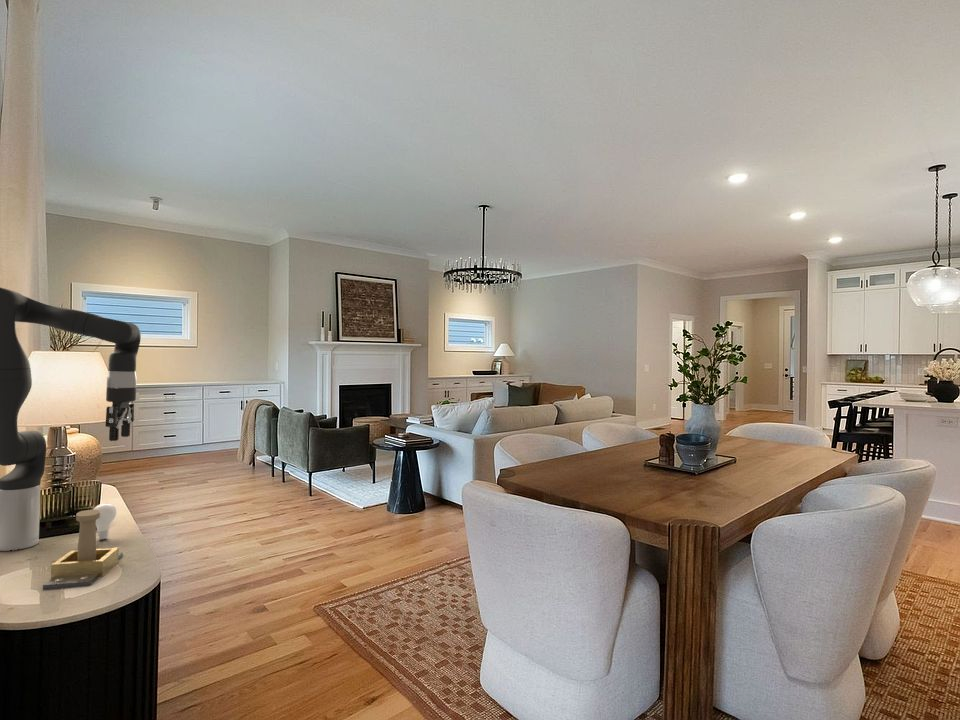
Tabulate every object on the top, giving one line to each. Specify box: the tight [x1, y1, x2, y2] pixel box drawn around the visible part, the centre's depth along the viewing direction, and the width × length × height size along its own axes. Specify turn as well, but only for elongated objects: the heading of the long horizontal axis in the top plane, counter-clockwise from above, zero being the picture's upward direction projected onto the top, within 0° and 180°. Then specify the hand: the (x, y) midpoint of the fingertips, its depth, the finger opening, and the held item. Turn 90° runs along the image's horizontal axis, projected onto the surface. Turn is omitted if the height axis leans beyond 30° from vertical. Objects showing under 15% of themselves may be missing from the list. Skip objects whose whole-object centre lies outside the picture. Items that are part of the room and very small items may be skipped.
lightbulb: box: [92, 502, 117, 541], centre depth 156 cm, size 6×6×11 cm
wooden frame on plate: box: [42, 547, 124, 590], centre depth 132 cm, size 11×20×4 cm, turn 16°
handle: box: [75, 509, 100, 561], centre depth 132 cm, size 5×6×15 cm
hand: (119, 438), depth 158 cm, fingers open, 8 cm apart
